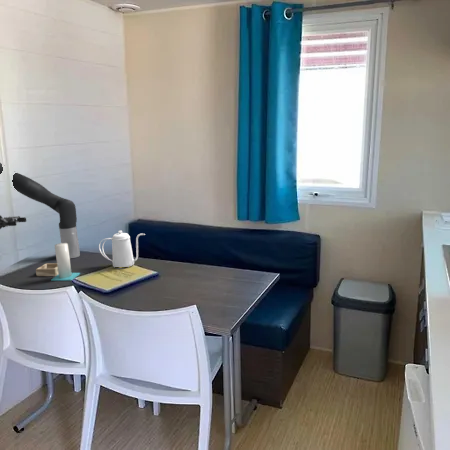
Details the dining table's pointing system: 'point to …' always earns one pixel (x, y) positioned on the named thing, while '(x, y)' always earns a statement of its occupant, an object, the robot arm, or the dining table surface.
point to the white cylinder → (63, 260)
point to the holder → (47, 270)
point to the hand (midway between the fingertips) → (21, 221)
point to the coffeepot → (121, 250)
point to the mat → (65, 278)
